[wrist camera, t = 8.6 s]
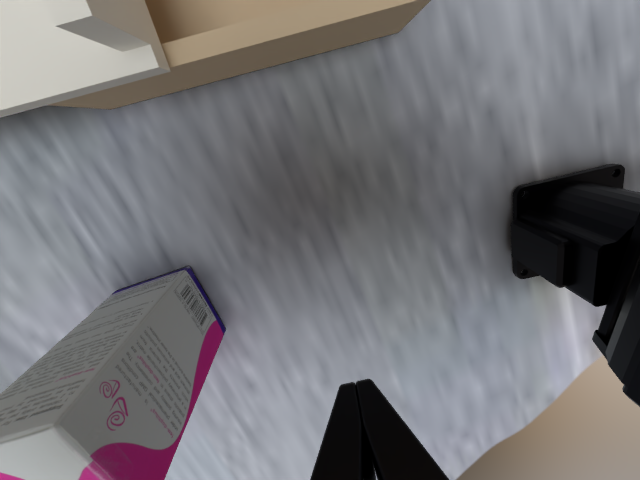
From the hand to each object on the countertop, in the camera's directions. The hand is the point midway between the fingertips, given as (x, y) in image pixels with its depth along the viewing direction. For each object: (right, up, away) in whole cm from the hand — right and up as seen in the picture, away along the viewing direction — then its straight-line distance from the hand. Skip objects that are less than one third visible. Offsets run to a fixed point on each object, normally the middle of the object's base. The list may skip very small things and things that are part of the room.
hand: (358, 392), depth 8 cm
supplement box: (-11, -1, +14) cm, 18 cm away
